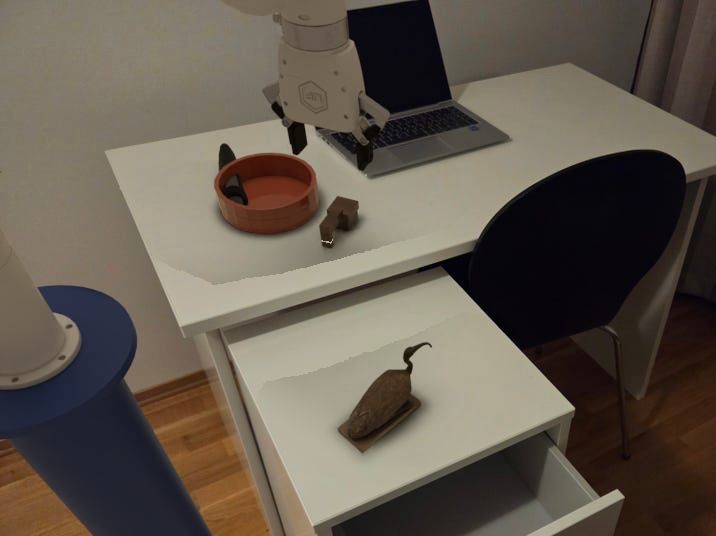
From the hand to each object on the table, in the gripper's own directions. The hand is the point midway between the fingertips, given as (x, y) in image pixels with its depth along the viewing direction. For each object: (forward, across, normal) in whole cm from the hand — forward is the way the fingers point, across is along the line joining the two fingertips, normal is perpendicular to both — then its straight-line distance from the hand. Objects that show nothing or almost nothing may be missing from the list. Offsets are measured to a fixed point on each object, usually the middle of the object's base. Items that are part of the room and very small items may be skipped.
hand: (332, 157), depth 88 cm
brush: (+14, -1, +2) cm, 15 cm away
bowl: (+14, -14, +4) cm, 21 cm away
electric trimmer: (+14, -23, +6) cm, 27 cm away
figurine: (+14, +19, -28) cm, 36 cm away
